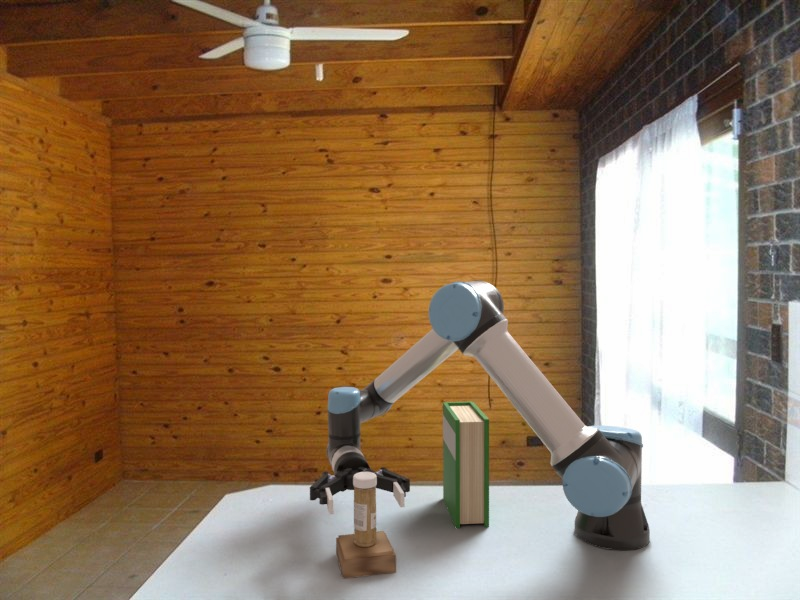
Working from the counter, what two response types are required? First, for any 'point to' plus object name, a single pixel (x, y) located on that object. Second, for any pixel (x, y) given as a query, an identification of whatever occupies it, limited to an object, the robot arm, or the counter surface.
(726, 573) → the counter surface
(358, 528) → the sprinkles bottle
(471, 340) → the robot arm
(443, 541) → the counter surface
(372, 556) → the walnut base
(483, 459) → the hardback book
